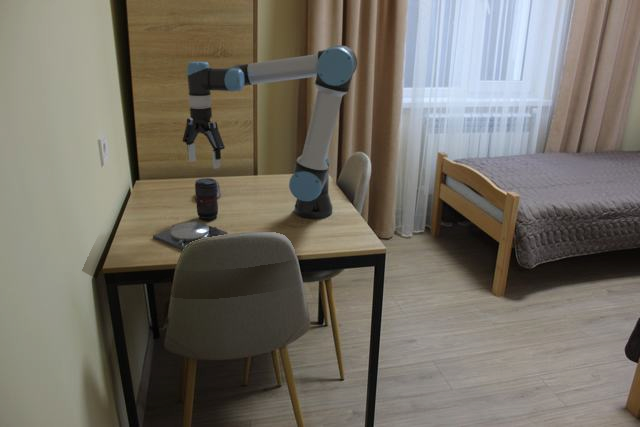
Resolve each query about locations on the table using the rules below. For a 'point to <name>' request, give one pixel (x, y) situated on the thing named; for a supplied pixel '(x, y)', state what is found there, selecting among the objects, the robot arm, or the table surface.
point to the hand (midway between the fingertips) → (204, 164)
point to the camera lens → (206, 199)
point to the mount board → (175, 243)
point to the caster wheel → (218, 190)
